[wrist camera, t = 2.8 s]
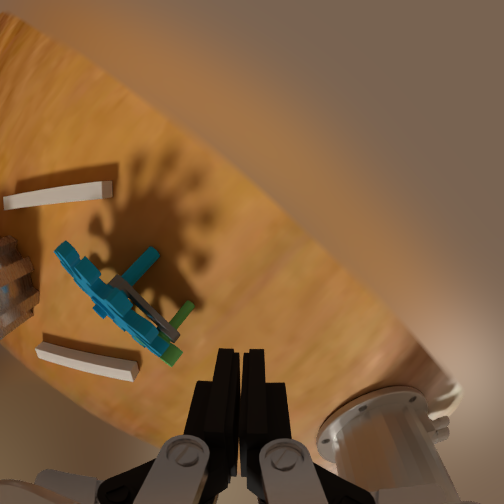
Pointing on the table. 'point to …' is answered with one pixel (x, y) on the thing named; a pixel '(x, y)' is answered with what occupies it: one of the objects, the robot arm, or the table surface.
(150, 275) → the table surface
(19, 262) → the sun gear
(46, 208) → the table surface
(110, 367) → the guide rails
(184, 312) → the gear
